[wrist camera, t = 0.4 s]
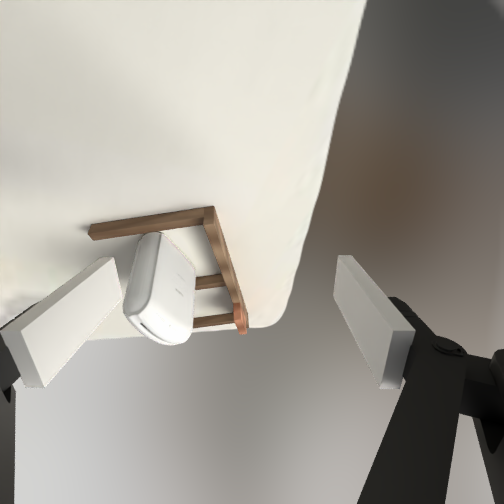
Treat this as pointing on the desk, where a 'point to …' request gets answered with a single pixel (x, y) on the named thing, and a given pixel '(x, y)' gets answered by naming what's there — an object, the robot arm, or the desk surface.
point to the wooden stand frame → (227, 277)
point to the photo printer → (161, 291)
